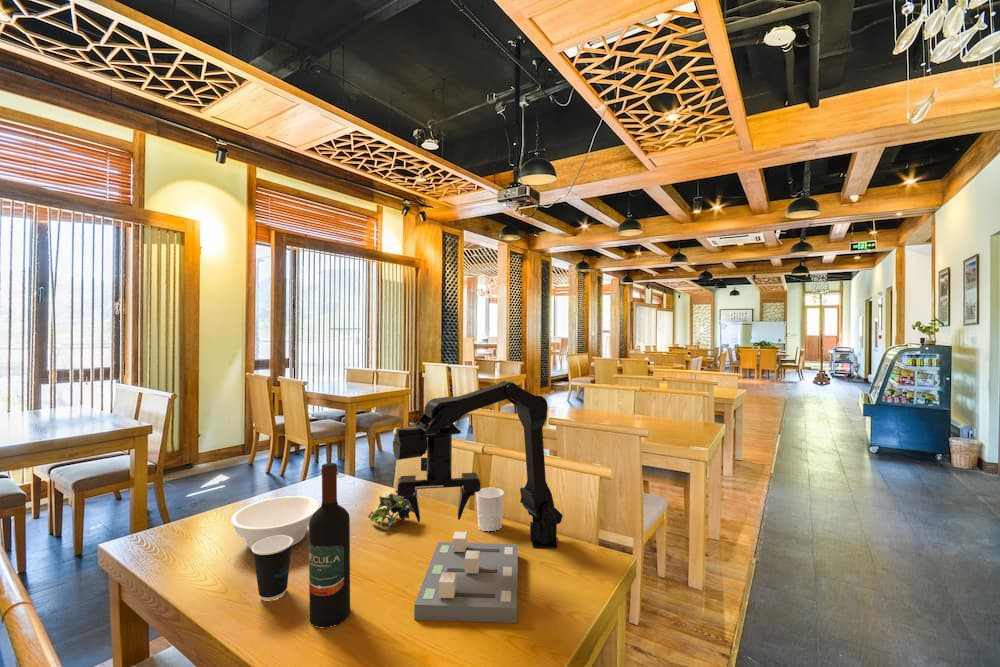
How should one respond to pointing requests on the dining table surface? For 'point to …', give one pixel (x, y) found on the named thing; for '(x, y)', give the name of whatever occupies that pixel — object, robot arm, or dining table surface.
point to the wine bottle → (329, 556)
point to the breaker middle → (472, 561)
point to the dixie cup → (272, 565)
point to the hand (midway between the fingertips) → (439, 520)
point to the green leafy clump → (392, 508)
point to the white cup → (490, 508)
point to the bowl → (275, 518)
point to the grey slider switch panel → (471, 585)
